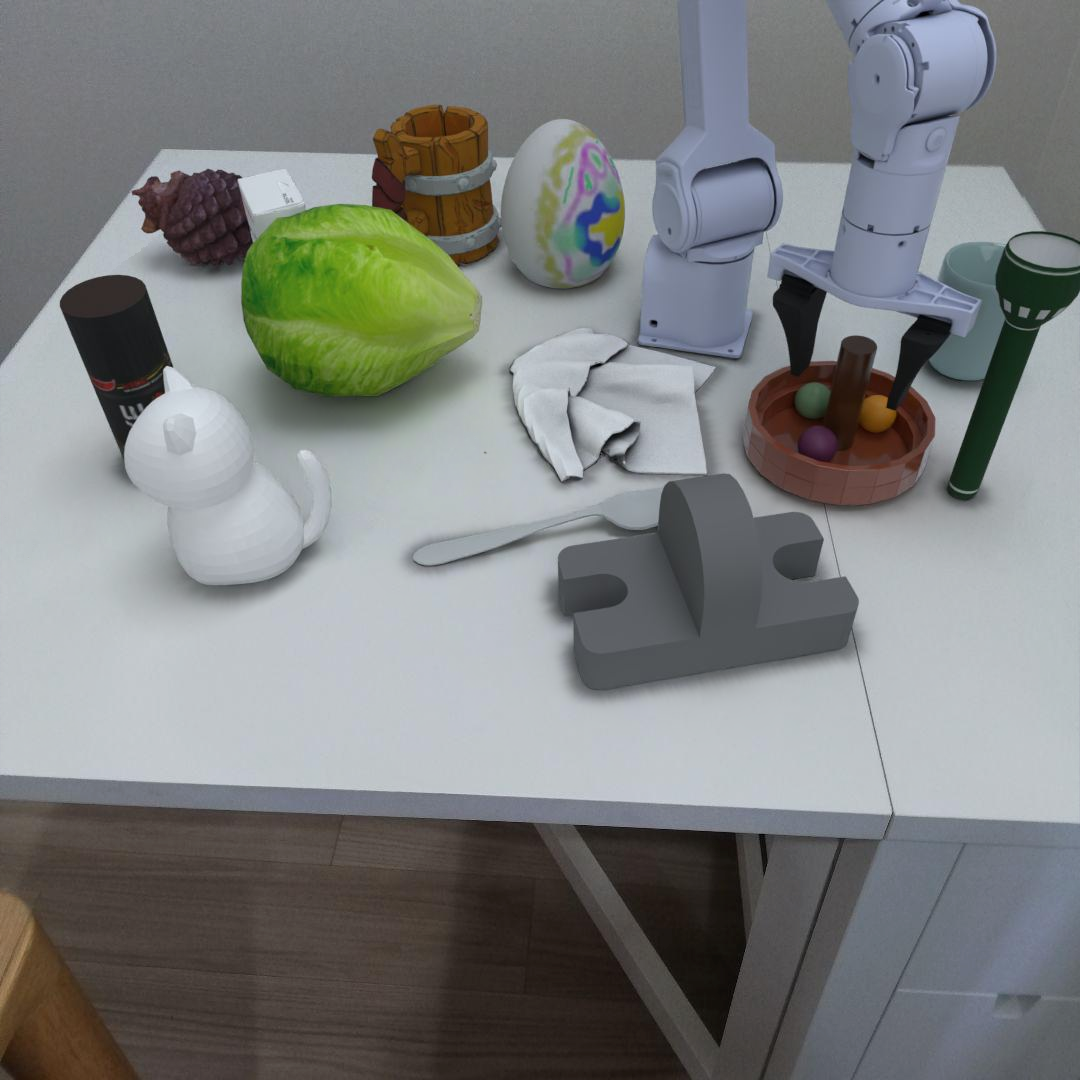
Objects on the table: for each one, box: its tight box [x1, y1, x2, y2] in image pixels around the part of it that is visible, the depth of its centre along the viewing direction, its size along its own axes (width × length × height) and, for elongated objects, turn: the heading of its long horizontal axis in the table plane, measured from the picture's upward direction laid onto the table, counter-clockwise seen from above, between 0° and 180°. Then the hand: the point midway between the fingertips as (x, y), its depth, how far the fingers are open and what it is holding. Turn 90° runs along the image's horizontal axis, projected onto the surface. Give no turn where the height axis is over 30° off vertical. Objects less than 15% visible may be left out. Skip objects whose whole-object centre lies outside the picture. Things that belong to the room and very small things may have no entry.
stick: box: [823, 334, 878, 451], centre depth 75 cm, size 3×3×9 cm
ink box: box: [238, 168, 307, 243], centre depth 93 cm, size 8×5×12 cm, turn 23°
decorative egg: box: [500, 118, 626, 289], centre depth 95 cm, size 12×12×15 cm
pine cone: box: [131, 168, 253, 268], centre depth 102 cm, size 18×10×10 cm
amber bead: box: [859, 395, 896, 433], centre depth 78 cm, size 3×3×3 cm
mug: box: [371, 104, 502, 266], centre depth 99 cm, size 11×16×15 cm, turn 148°
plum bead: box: [798, 426, 838, 462], centre depth 76 cm, size 3×3×3 cm
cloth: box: [508, 327, 717, 482], centre depth 82 cm, size 20×22×2 cm
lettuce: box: [240, 203, 483, 398], centre depth 82 cm, size 17×20×15 cm
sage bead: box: [795, 382, 830, 419], centre depth 80 cm, size 3×3×3 cm
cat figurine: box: [123, 366, 333, 586], centre depth 66 cm, size 9×12×15 cm
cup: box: [928, 241, 1007, 382], centre depth 83 cm, size 8×8×10 cm
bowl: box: [742, 360, 936, 506], centre depth 77 cm, size 14×14×4 cm
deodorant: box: [59, 274, 175, 460], centre depth 75 cm, size 6×6×15 cm
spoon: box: [412, 487, 664, 566], centre depth 72 cm, size 4×21×2 cm, turn 104°
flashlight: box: [947, 230, 1080, 501], centre depth 68 cm, size 5×5×20 cm
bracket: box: [557, 472, 860, 691], centre depth 63 cm, size 10×18×11 cm, turn 101°
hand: (846, 385), depth 74 cm, fingers open, 7 cm apart
